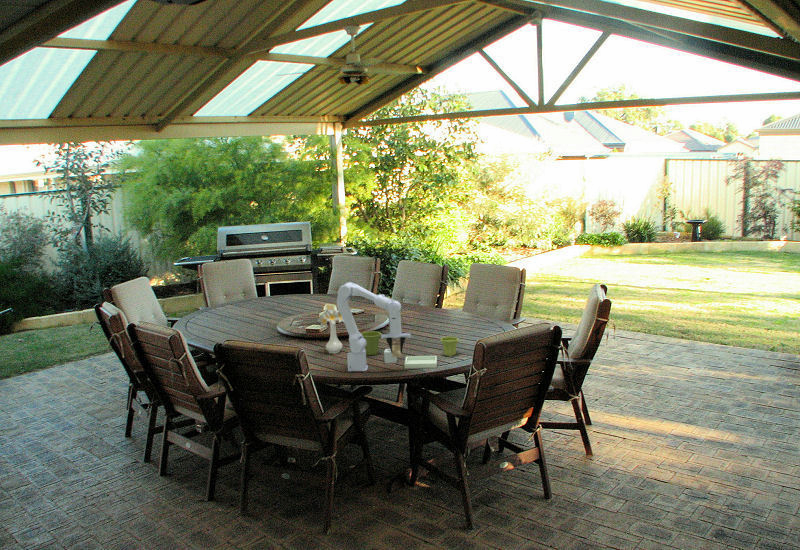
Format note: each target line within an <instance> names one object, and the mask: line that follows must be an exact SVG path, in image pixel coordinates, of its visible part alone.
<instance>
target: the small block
mask: <svg viewBox="0 0 800 550" xmlns="http://www.w3.org/2000/svg"><path fill="white" fill-rule="evenodd" d="M392 355H393V357H397V358H401V357H402V353H401V345H400V342H392Z"/></svg>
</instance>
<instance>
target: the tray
mask: <svg viewBox="0 0 800 550" xmlns="http://www.w3.org/2000/svg"><path fill="white" fill-rule="evenodd" d="M437 357H438V356H437V355H415V356H414V355H411V356H410V355H409V356H405V359H404V370H418V369H419V370H422V369H424V370H427V369H437V368H438V358H437Z"/></svg>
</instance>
